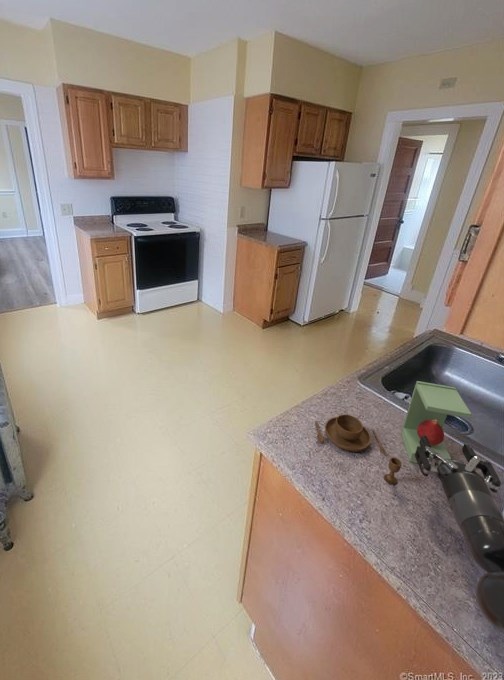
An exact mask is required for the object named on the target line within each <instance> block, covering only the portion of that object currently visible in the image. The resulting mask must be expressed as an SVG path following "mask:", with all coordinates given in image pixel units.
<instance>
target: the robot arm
mask: <svg viewBox="0 0 504 680" xmlns="http://www.w3.org/2000/svg"><path fill="white" fill-rule="evenodd" d="M419 443H420V446H421V447H420V446H417V450H416V453H415V458H416V460H417V463H416V464H417V465H418V467H419V470H420V472H421V475H422V476H424V477H429V475H433V476H437V478H438V479H439V480H440V482H441V485H442V489H443V492H444V494H445V497H446V500H447V502H448V505H449V508H450V510H451V512H452V514H453V517H454V519H455V522H456V523H457V525H458V527H459V529H460V531H461V533H462V536H463V538H464V540H465V543H466V546H467V548H468V551H469V553H470V555H471V558H472V559H473V561H474V562H475V563H476V564H477V566H478V567H479V568H481V569H482V571H485V572H486V573H484V574H482V576H481V577H480V578H479V579H478V580H477V582H476V586H475V590H474V591H475V593H474V594H475V599H476V603H477V606H478V608H479V610H480V612H481V613H482V615H483V616H484V618H485V619H486V620H487V621H488V623H489V624H491V626H493V628H494V629H496V630H498V631H499V632H501V633H502V634H504V515H503V513H502V511H501V510H500V507H499V505H498V503H497V501H496V499H495V498H494V496H493V494H492V493H495V494H497V493H498V491H499V489H500V488H501V485H502V482H501V480H500V477H499V476H498V474H497V472H496V470H495V467H494V466H493V464H492V463H491V462H490V461H489V460H481V458H480V457H479V456H477V453H476V452H475V449H473V447H471V446H470V444H468V443H463V446H462V448H461V452H462V453H463V455H464V457H465V460H466V461H467V464H466V463H465V462H464V461H461V460H454V459H452V458H451V459H448V458H445V457H444V456H443V455H442V454H440V453H437V452H435V451H434V450H433V449H432V448H431V445H430V442H429V440H428V438H427V436H425V435H423V436H422V437H421V439H420V442H419ZM430 454H431V455H432V456H433V458H432V457H431V456H430ZM439 460H441V461H442V462H441V464H440V465H439V464H438V462H439ZM477 469H479V470H480V471H481V473H482V475H483V476H482V475H481V474H479V473H478V472H477V471H476V470H477ZM491 492H492V493H491Z"/></svg>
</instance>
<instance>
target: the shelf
mask: <svg viewBox="0 0 504 680" xmlns="http://www.w3.org/2000/svg"><path fill="white" fill-rule="evenodd" d="M448 415H450V416H455V417H461V418H464V419H465V418H466V419H471V417H472V415H473V414H472V412H471V411H470V409H469V407H468V406H467V404H466V403H465V401H464V399H463V398H462V397H461V395H460V393H459V392H458V391H457V388H456V387H455V386H449V385H444V384H437V383H431V382H426V381H419V380H416V382H415V384H414V389H413V392H412V394H411V398H410V401H409V405H408V409H407V411H406V415H405V418H404V422H403V424H402V428H401V432H400V436H401V439H402V443H403V446H404V448H405V451H406V455H407V457H408V461H409V462H410V463H414V464H418V463H417V460H416V458H415V453H416V450H417V446H420V443H419V442H420V438H419V436H418V433H417V428H418V426H419V424H420V423H421V422H423V421H425V420H437V421H438V424H439V425H440V426H441V427H442V429H443V428H444V426H445V423H446V419H447V417H448ZM420 447H421V446H420ZM431 448H432V449H433V450H434V451H435V452H437V453H440V454H442V455H443V456H444V457H445V458H448V459H452V457H451V455H450V453H449V451H448V448H447V446H446V444H445V442H444V440H443V441H442V443H440V444H438V445H431ZM430 456H431V457H432V458H433V456H432V455H431V454H430ZM441 462H442V461H441V460H439V462H438V464H439V465H440V464H441Z"/></svg>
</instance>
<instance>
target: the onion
mask: <svg viewBox="0 0 504 680" xmlns="http://www.w3.org/2000/svg"><path fill="white" fill-rule="evenodd" d="M417 433H418V436H419V438H420V439H421V437H422V436H423V435H425V436H427V438H428V440H429V442H430V445H438V444H440V443H442V441H443V442H444V439H445V432H444V429H443V428H442V427H441V426H440V425H439V424H438V421H437V420H425V421H423V422H421V423H420V424H419V426H418V428H417Z"/></svg>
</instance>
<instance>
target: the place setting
mask: <svg viewBox="0 0 504 680" xmlns="http://www.w3.org/2000/svg"><path fill="white" fill-rule="evenodd" d="M314 422H315V427H316V431H317V434H316V438H317V440H318V441H319V442H320V443H323V442H324V441H325V437H324V436H323V434H322V433H321V432H320V427H319V423H318V421H317V420H315V421H314ZM324 432H325V435H326V436H327V438H328V440H329V441H330V442H331V443H332V444H333V445H335V446H336V447H338V448H340V449H342V450H345V451H347V452H362V451H364V450H366V449H367V448H368V447H369V446H370V444H371V440H372V438H371V434H370V432H369V431H368V429H367V428H366V427H365V426H364V425H363V423H362V422H361V420H360V419H358V418H357V417H355V416H354V415H350V414H340V415H338V416H333V417H331V418H329V419H328V420H327V421H326V422H325V425H324ZM372 433H373V435H374V437H375V439H376V441H377V443H378V445H379V451H380V453H381V454H382V455H383V456H389V454H388V452H387V451H386V449H385V448H384V447H383V446H382V444H381V442H380V439H379V436H378V435H377V433H376V431H375V430H374V428H372ZM402 464H403V463H402V461H401V460H400V459H399V458H398V457H394V456H393V457H390V459H389V461H388V469H389V471H390V472H389V473H385V474H383V479H384V481H385V482H386V483H387V484H389V485H392V486H394V485H397V483H398V480H397V478H396V477H395V474H396V473H398V472H400V470H401V467H402Z"/></svg>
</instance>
